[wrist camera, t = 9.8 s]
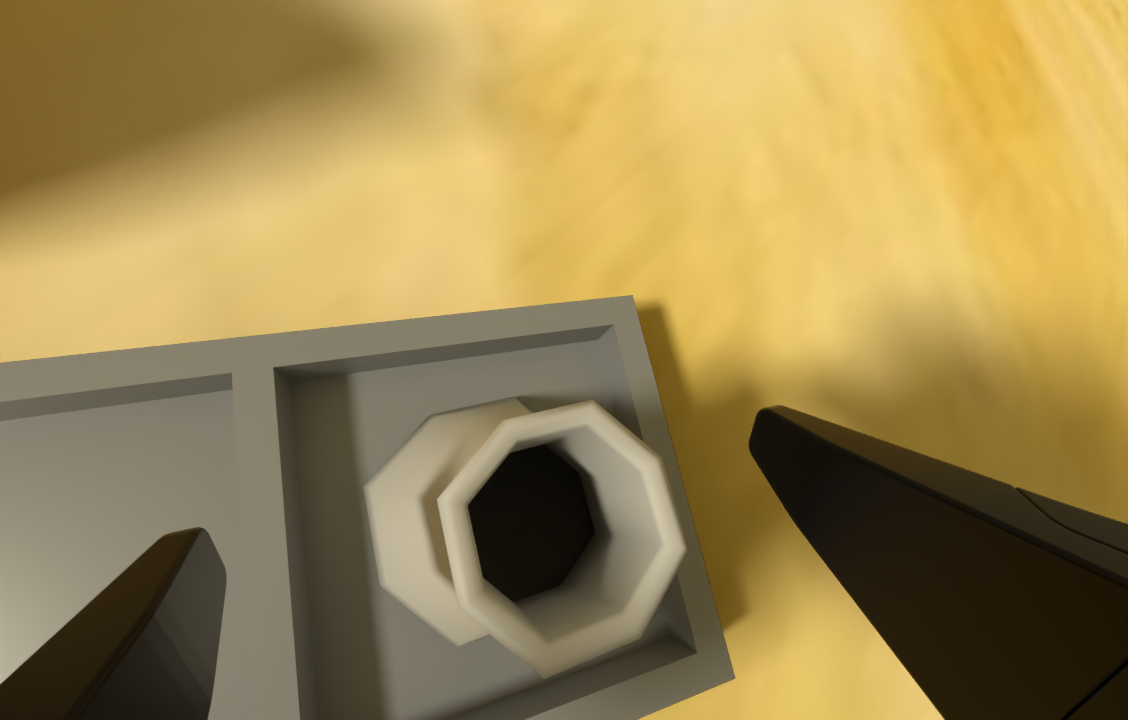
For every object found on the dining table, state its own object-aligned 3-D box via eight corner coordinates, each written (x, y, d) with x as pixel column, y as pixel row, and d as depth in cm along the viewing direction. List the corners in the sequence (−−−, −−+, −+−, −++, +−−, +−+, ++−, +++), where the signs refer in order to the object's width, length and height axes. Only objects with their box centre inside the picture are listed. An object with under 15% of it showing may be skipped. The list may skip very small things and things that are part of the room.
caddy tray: (692, 653, 16) (735, 678, 14) (-378, 1065, 9) (-656, 1257, 7) (608, 319, 19) (632, 295, 17) (-259, 426, 12) (-425, 408, 10)
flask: (520, 364, 17) (627, 198, 8) (632, 540, 16) (900, 592, 7) (321, 478, 14) (114, 434, 5) (443, 695, 14) (470, 1115, 4)
